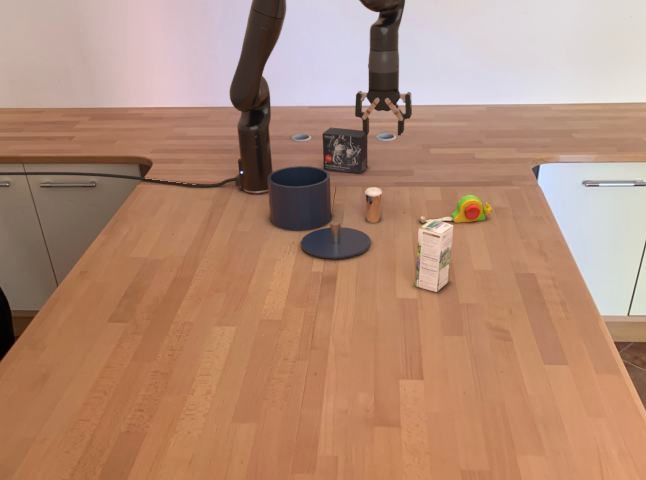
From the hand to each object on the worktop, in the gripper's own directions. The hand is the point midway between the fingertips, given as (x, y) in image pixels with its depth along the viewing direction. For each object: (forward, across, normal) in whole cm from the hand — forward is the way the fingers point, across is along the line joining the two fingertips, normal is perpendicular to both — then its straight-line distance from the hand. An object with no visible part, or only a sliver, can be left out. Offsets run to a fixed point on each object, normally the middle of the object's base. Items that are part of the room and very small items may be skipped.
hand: (383, 134), depth 183 cm
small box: (+23, +18, -36) cm, 47 cm away
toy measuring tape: (+23, -20, 0) cm, 30 cm away
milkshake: (+23, +2, +4) cm, 23 cm away
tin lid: (+22, +8, +21) cm, 31 cm away
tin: (+22, +22, +6) cm, 32 cm away
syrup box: (+23, -18, +38) cm, 48 cm away
